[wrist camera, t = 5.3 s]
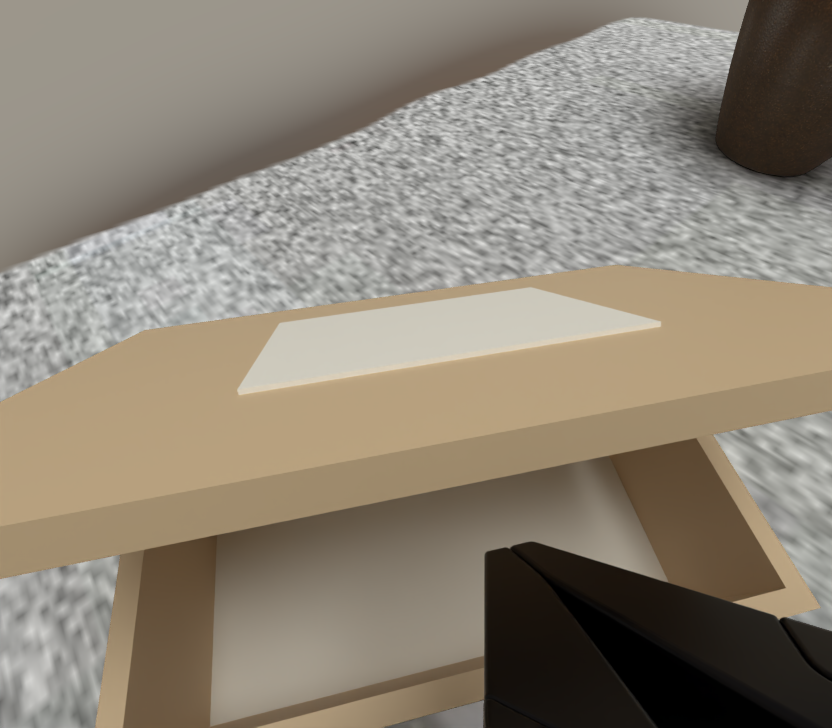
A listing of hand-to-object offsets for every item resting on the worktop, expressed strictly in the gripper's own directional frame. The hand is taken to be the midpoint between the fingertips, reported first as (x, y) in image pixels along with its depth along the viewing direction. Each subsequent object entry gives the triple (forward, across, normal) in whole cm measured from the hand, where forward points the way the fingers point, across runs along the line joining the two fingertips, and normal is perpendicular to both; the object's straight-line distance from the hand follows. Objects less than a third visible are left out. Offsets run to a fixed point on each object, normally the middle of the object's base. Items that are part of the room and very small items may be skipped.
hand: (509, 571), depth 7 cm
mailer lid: (+5, 0, +3) cm, 6 cm away
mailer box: (+11, 0, -5) cm, 12 cm away
